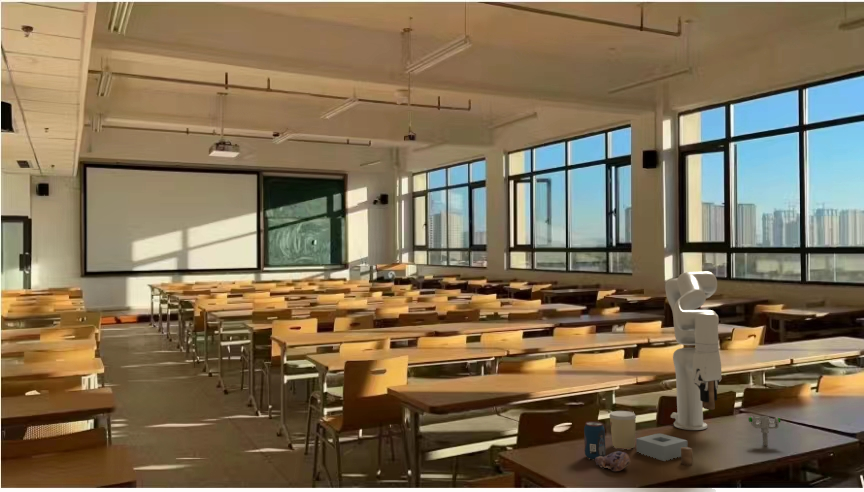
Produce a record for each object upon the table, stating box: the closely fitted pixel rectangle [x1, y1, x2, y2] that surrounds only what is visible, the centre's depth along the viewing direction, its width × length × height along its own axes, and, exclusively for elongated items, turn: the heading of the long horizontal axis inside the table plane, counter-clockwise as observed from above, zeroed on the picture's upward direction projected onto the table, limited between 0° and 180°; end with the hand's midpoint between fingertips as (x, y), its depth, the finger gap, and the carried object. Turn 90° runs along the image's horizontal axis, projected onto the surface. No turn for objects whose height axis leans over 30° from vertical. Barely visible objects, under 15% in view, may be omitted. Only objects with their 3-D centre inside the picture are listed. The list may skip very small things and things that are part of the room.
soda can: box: [583, 420, 607, 460], centre depth 227 cm, size 7×7×12 cm
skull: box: [594, 450, 631, 472], centre depth 215 cm, size 12×8×6 cm, turn 37°
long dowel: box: [702, 381, 715, 410], centre depth 228 cm, size 4×4×12 cm
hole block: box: [635, 432, 689, 462], centre depth 229 cm, size 12×12×5 cm
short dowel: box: [680, 446, 694, 466], centre depth 218 cm, size 4×4×5 cm
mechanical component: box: [748, 415, 781, 447], centre depth 236 cm, size 3×10×10 cm, turn 78°
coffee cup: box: [609, 410, 637, 450], centre depth 239 cm, size 9×9×12 cm
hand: (708, 400), depth 228 cm, fingers closed on long dowel, 3 cm apart
